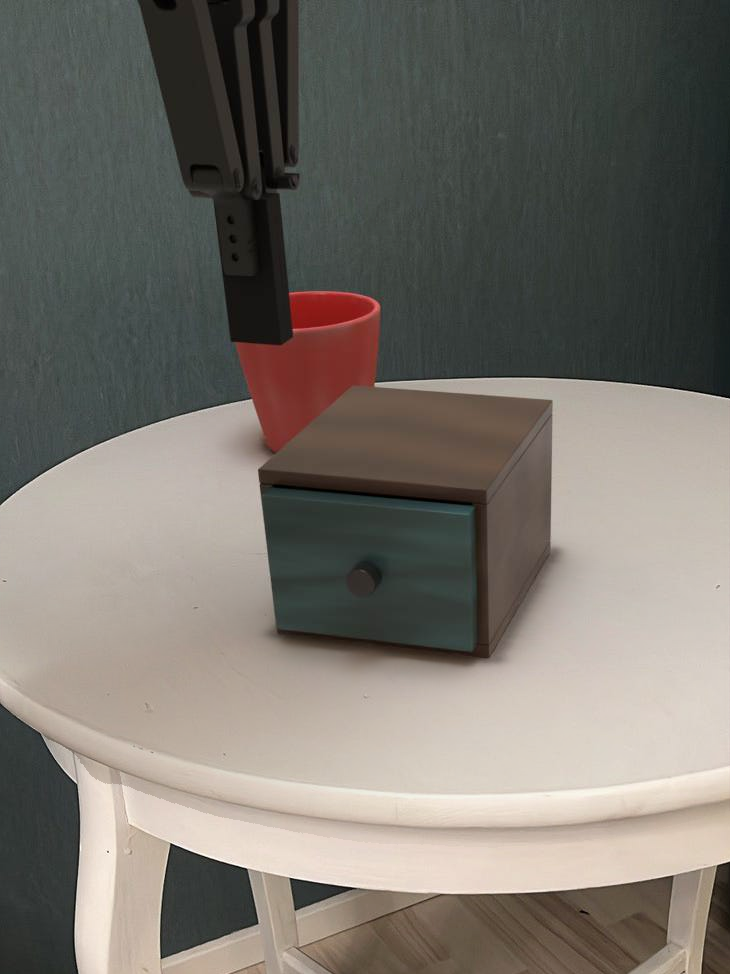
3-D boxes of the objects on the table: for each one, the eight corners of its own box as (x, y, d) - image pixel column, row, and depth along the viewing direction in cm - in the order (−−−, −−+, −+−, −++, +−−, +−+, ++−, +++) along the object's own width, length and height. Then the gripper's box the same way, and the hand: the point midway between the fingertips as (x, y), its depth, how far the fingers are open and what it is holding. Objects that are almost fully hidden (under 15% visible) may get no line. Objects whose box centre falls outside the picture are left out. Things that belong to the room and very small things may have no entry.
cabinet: (489, 658, 74) (486, 489, 68) (276, 632, 77) (257, 469, 71) (550, 551, 85) (552, 399, 80) (363, 533, 88) (352, 384, 83)
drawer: (465, 662, 72) (462, 523, 67) (267, 639, 74) (251, 503, 70) (532, 552, 83) (533, 426, 79) (358, 534, 86) (349, 412, 81)
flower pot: (225, 433, 104) (208, 301, 98) (355, 409, 108) (346, 281, 102) (273, 477, 97) (257, 337, 91) (411, 450, 101) (405, 314, 95)
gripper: (204, -304, 47) (277, 385, 61) (345, -277, 57) (379, 309, 71) (16, -293, 49) (129, 373, 63) (184, -269, 59) (249, 301, 73)
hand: (262, 338), depth 67 cm, fingers closed
